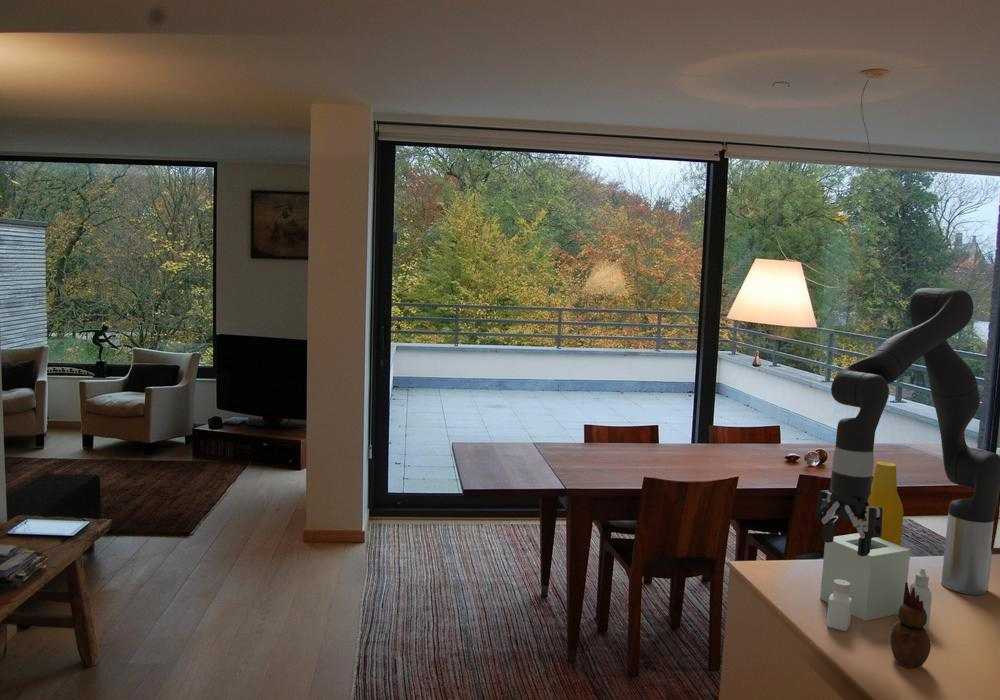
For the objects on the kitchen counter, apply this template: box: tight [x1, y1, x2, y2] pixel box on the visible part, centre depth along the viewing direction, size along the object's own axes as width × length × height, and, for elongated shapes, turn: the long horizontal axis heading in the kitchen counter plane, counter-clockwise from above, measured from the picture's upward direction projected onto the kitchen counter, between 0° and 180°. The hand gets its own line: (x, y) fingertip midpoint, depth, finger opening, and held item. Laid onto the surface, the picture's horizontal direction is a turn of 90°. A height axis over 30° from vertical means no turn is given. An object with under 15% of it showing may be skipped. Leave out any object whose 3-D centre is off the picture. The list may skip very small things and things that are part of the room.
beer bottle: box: [859, 461, 904, 546], centre depth 187 cm, size 9×9×29 cm
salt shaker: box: [826, 579, 852, 632], centre depth 163 cm, size 4×4×10 cm
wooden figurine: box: [889, 581, 932, 669], centre depth 148 cm, size 7×6×15 cm
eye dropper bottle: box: [909, 567, 933, 630], centre depth 166 cm, size 4×6×12 cm
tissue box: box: [819, 532, 911, 622], centre depth 174 cm, size 12×12×14 cm
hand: (844, 548), depth 162 cm, fingers open, 8 cm apart
